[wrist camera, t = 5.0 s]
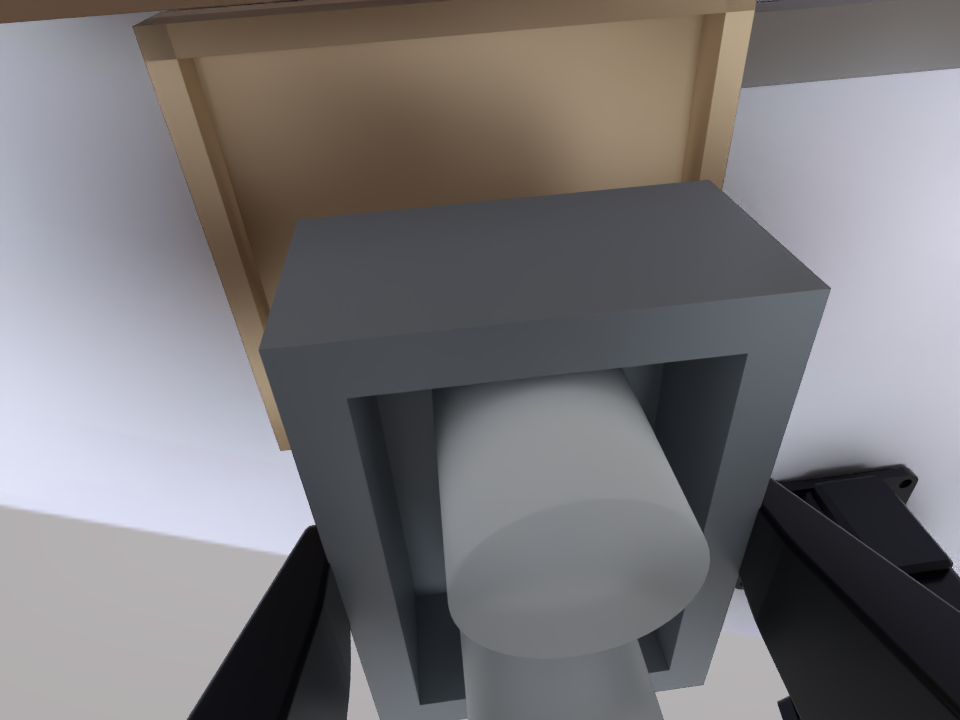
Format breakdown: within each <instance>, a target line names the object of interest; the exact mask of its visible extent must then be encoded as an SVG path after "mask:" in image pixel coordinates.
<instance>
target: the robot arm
mask: <svg viewBox="0 0 960 720" xmlns="http://www.w3.org/2000/svg"><path fill="white" fill-rule="evenodd" d="M917 482H918V477H917V476H916V475H915V474H914V473H913V472H912V470H911V469H909V468H898V469H891V470H883V471H875V472H868V473H860V474H852V475H845V476H837V477H830V478H822V479H814V480H807V481H799V482H792V483H784V484H779V483H778V482H777V481H775V480H774V479H772V478H771V477H770V480H769V483H768V486H767V489H766V492H765V495H764V498H763V501H762V504H761V507H760V508H759V510H758V513H757V516H756V519H755V522H754V525H753V528H752V531H751V535H750V538H749V541H748V544H747V547H746V550H745V554H744V557H743V560H742V563H741V566H740V569H739V573H738V574H739V576H738V579H737V582H736V585H735V588H737V589H744V591H745V594H746V597H747V600H748V603H749V606H750V609H751V611H752V614H753V617H754V619H755V622H756V624H757V626H758V629H759V631H760V633H761V635H762V638H763V640H764V642H765V644H766V646H767V648H768V650H769V653H770V654H771V657H772V659H773V661H774V663H775V665H776V667H777V670H778V672H779V674H780V676H781V678H782V680H783V682H784V684H785V686H786V688H787V691H788V693H789V695H790V696H788V697H786V698H784V699H782V700H780V701H778V702H777V703H778V707H779V709H780V712H781V715H782V718H783V720H960V577H959V576H958V575H957V573H956V572H955V571H954V570H953V569H952V566H953V562H952V560H951V559H950V557H949V556H948V555H947V554H946V553H945V551H944V550H943V549H942V548H941V547H940V546H939V544H938V543H937V542H936V541H935V540H934V538H933V537H932V536H931V535H930V534H929V533H928V531H927V530H926V529H925V528H924V527H923V525H922V524H921V523H920V522H919V521H918V520H917V518H916V517H915V516H914V515H913V514H912V512H911V511H910V510H909V509H908V508H907V507H906V503H907V501H908V499H909V497H910V495H911V493H912V491H913V490H914V488H915V486H916V484H917ZM350 645H351V640H350V622H349V619H348V616H347V613H346V610H345V607H344V604H343V601H342V598H341V595H340V592H339V589H338V586H337V583H336V579H335V576H334V573H333V570H332V567H331V565H330V563H328V560H327V557H326V554H325V551H324V548H323V545H322V542H321V539H320V536H319V533H318V530H317V527H316V525H312V526H309V527H308V528H306V529H305V531H304V532H303V534H302V535H301V537H300V539H299V540H298V542H297V543H296V545H295V547H294V548H293V550H292V552H291V553H290V555H289V556H288V558H287V560H286V561H285V563H284V565H283V566H282V568H281V569H280V571H279V572H278V574H277V576H276V577H275V579H274V580H273V582H272V584H271V585H270V587H269V588H268V590H267V592H266V593H265V595H264V596H263V598H262V600H261V601H260V603H259V605H258V606H257V608H256V610H255V611H254V613H253V614H252V616H251V618H250V619H249V621H248V622H247V624H246V625H245V627H244V629H243V630H242V632H241V634H240V635H239V637H238V638H237V640H236V641H235V643H234V645H233V646H232V648H231V650H230V651H229V653H228V654H227V656H226V658H225V659H224V661H223V662H222V664H221V665H220V667H219V669H218V670H217V672H216V674H215V675H214V677H213V678H212V680H211V682H210V683H209V685H208V687H207V688H206V690H205V691H204V693H203V694H202V696H201V698H200V699H199V701H198V702H197V704H196V706H195V707H194V709H193V710H192V712H191V714H190V715H189V717H188V718H187V720H347V712H348V702H349V690H350V671H351V670H350V669H351V668H350V667H351V646H350Z"/></svg>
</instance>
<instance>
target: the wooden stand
mask: <svg viewBox="0 0 960 720" xmlns="http://www.w3.org/2000/svg"><path fill="white" fill-rule="evenodd" d="M274 1H287V0H0V23H13V22H25V21H38V20H50V19H62V18H75V17H87V16H100V15H112V14H125V13H137V12H150V11H162V10H175V9H187V8H199V7H212V6H224V5H237V4H249V3H262V2H274Z"/></svg>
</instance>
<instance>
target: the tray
mask: <svg viewBox="0 0 960 720" xmlns="http://www.w3.org/2000/svg"><path fill="white" fill-rule="evenodd" d="M830 290H831V288H830V287H829V286H828V285H826V284H825V283H824V282H823V281H822V280H821V279H820V278H819V277H817V276H816V275H815V274H814V273H813V272H812V271H811V270H810V269H809V268H807V267H806V266H805V265H804V264H803V263H802V262H801V261H800V260H798V259H797V258H796V257H795V256H794V255H793V254H792V253H791V252H789V251H788V250H787V249H786V248H785V247H784V246H783V245H782V244H781V243H779V242H778V241H777V240H776V239H775V238H774V237H773V236H772V235H770V234H769V233H768V232H767V231H766V230H765V229H764V228H763V227H761V226H760V225H759V224H758V223H757V222H756V221H755V220H754V219H753V218H751V217H750V216H749V215H748V214H747V213H746V212H745V211H744V210H742V209H741V208H740V207H739V206H738V205H737V204H736V203H735V202H733V201H732V200H731V199H730V198H729V197H728V196H727V195H726V194H725V193H723V192H722V191H721V190H720V189H719V188H718V187H717V186H716V185H714V184H713V183H712V182H711V181H710V180H700V181H690V182H679V183H669V184H659V185H648V186H638V187H628V188H617V189H607V190H597V191H586V192H576V193H565V194H555V195H545V196H534V197H524V198H514V199H503V200H493V201H483V202H472V203H462V204H451V205H441V206H431V207H420V208H410V209H400V210H389V211H379V212H369V213H358V214H348V215H337V216H327V217H317V218H306V219H298V220H297V223H296V227H295V230H294V233H293V237H292V240H291V243H290V247H289V250H288V253H287V256H286V260H285V263H284V266H283V270H282V273H281V276H280V280H279V283H278V286H277V290H276V293H275V296H274V300H273V303H272V306H271V310H270V313H269V316H268V320H267V323H266V326H265V330H264V333H263V336H262V340H261V343H260V346H259V350H258V351H259V354H260V357H261V360H262V363H263V366H264V369H265V372H266V375H267V378H268V381H269V384H270V387H271V390H272V393H273V396H274V399H275V402H276V405H277V408H278V411H279V414H280V417H281V420H282V423H283V426H284V430H285V433H286V436H287V439H288V442H289V445H290V448H291V451H292V454H293V457H294V460H295V463H296V466H297V469H298V472H299V475H300V478H301V481H302V484H303V487H304V490H305V493H306V496H307V499H308V502H309V505H310V509H311V512H312V515H313V518H314V521H315V524H316V527H317V530H318V533H319V536H320V539H321V542H322V545H323V548H324V551H325V554H326V557H327V560H328V563H330V565H331V567H332V570H333V573H334V576H335V579H336V583H337V586H338V589H339V592H340V595H341V598H342V601H343V604H344V607H345V610H346V613H347V616H348V619H349V622H350V630H351V633H352V636H353V639H354V642H355V645H356V648H357V651H358V654H359V657H360V660H361V663H362V666H363V669H364V673H365V675H366V679H367V682H368V685H369V687H370V690H371V694H372V697H373V700H374V703H375V706H376V709H377V712H378V715H379V718H380V720H461V719H468V720H664V719H663V716H662V713H661V710H660V707H659V704H658V700H657V697H656V695H655V692H658V691H665V690H671V689H678V688H685V687H692V686H700V685H704V681H705V679H706V675H707V672H708V669H709V666H710V663H711V660H712V657H713V654H714V651H715V647H716V644H717V641H718V638H719V635H720V632H721V629H722V626H723V623H724V619H725V616H726V613H727V610H728V607H729V604H730V601H731V598H732V595H733V592H734V588H735V585H736V582H737V579H738V576H739V574H738V573H739V569H740V566H741V563H742V560H743V557H744V554H745V550H746V547H747V544H748V541H749V538H750V535H751V531H752V528H753V525H754V522H755V519H756V516H757V513H758V510H759V508H760V507H761V504H762V501H763V498H764V495H765V492H766V489H767V486H768V483H769V480H770V476H771V473H772V470H773V467H774V464H775V461H776V458H777V455H778V452H779V448H780V445H781V442H782V439H783V436H784V433H785V430H786V427H787V424H788V420H789V417H790V414H791V411H792V408H793V405H794V402H795V399H796V396H797V393H798V389H799V386H800V383H801V380H802V377H803V374H804V371H805V368H806V365H807V361H808V358H809V355H810V352H811V349H812V346H813V343H814V340H815V337H816V333H817V330H818V327H819V324H820V321H821V318H822V315H823V312H824V309H825V305H826V302H827V299H828V296H829V293H830Z"/></svg>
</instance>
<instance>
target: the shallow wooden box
mask: <svg viewBox="0 0 960 720" xmlns="http://www.w3.org/2000/svg"><path fill="white" fill-rule="evenodd" d="M756 1H757V0H304V1H292V2H279V3H267V4H255V5H242V6H230V7H217V8H205V9H192V10H180V11H168V12H160V13H158V14H156V15H154V16H152V17H150V18H148V19H146V20H144V21H142V22H140V23H138V24H137V25H135V26H133V30H134V33H135V35H136V38H137V41H138V44H139V47H140V50H141V53H142V56H143V58H144V61H145V64H146V67H147V70H148V73H149V76H150V78H151V81H152V84H153V87H154V90H155V93H156V96H157V99H158V101H159V104H160V107H161V110H162V113H163V116H164V119H165V121H166V124H167V127H168V130H169V133H170V136H171V139H172V142H173V144H174V147H175V150H176V153H177V156H178V159H179V162H180V164H181V167H182V170H183V173H184V176H185V179H186V182H187V184H188V187H189V190H190V193H191V196H192V199H193V202H194V205H195V207H196V210H197V213H198V216H199V219H200V222H201V225H202V227H203V230H204V233H205V236H206V239H207V242H208V245H209V248H210V250H211V253H212V256H213V259H214V262H215V265H216V268H217V270H218V273H219V276H220V279H221V282H222V285H223V288H224V291H225V293H226V296H227V299H228V302H229V305H230V308H231V311H232V313H233V316H234V319H235V322H236V325H237V328H238V331H239V333H240V336H241V339H242V342H243V345H244V348H245V351H246V354H247V356H248V359H249V362H250V365H251V368H252V371H253V374H254V376H255V379H256V382H257V385H258V388H259V391H260V394H261V397H262V399H263V402H264V405H265V408H266V411H267V414H268V417H269V419H270V422H271V425H272V428H273V431H274V434H275V437H276V440H277V442H278V445H279V448H280V451H284V450H291V448H290V445H289V442H288V439H287V436H286V433H285V430H284V426H283V423H282V420H281V417H280V414H279V411H278V408H277V405H276V402H275V399H274V396H273V393H272V390H271V387H270V384H269V381H268V378H267V375H266V372H265V369H264V366H263V363H262V360H261V357H260V354H259V351H258V350H259V346H260V343H261V340H262V336H263V333H264V330H265V326H266V323H267V320H268V316H269V313H270V310H271V306H272V303H273V300H274V296H275V293H276V290H277V286H278V283H279V280H280V276H281V273H282V270H283V266H284V263H285V260H286V256H287V253H288V250H289V247H290V243H291V240H292V237H293V233H294V230H295V227H296V223H297V220H298V219H306V218H317V217H327V216H337V215H348V214H358V213H369V212H379V211H389V210H400V209H410V208H420V207H431V206H441V205H451V204H462V203H472V202H483V201H493V200H503V199H514V198H524V197H534V196H545V195H555V194H565V193H576V192H586V191H597V190H607V189H617V188H628V187H638V186H648V185H659V184H669V183H679V182H690V181H700V180H710V181H711V182H712V183H713V184H714V185H716V186H717V187H718V188H719V189H720V190H721V191H722V188H723V182H724V177H725V171H726V166H727V160H728V155H729V149H730V144H731V138H732V133H733V127H734V122H735V116H736V111H737V105H738V100H739V94H740V89H741V88H748V87H759V86H769V85H780V84H791V83H802V82H813V81H824V80H834V79H845V78H856V77H867V76H878V75H889V74H899V73H910V72H921V71H932V70H943V69H954V68H960V0H781V1H769V2H757V3H756Z"/></svg>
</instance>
